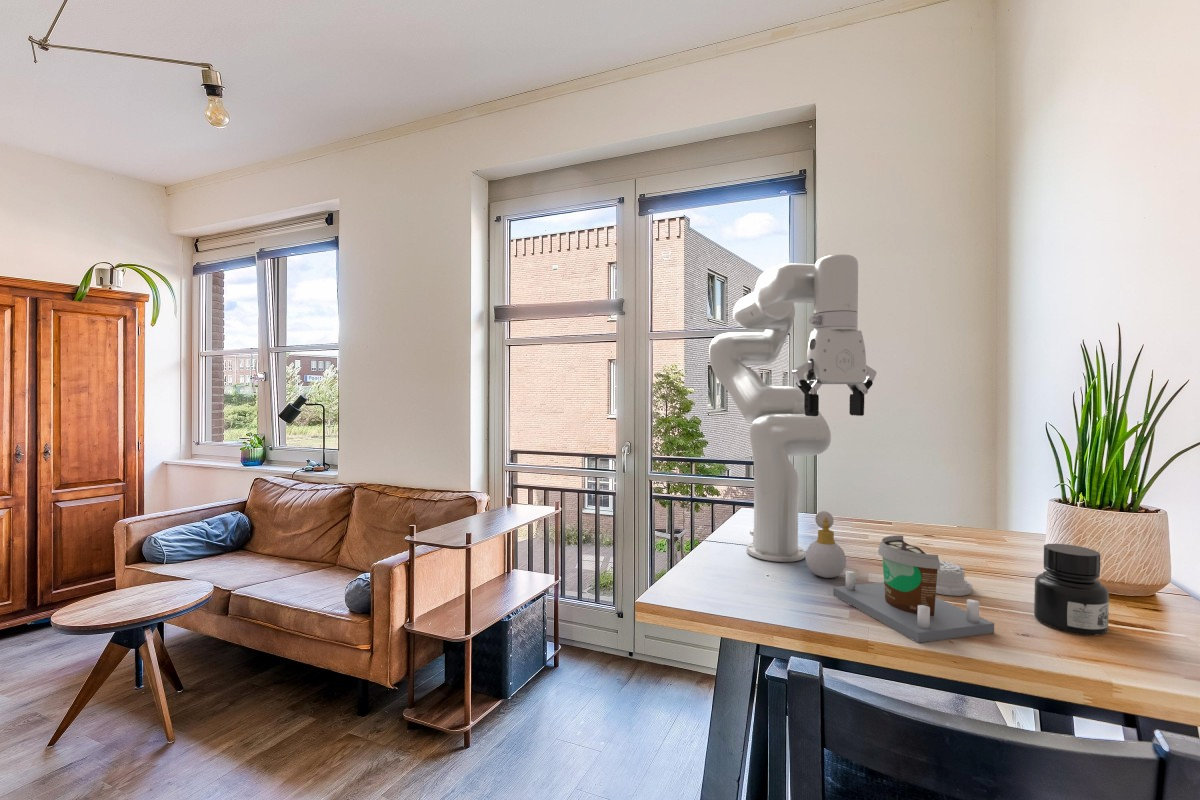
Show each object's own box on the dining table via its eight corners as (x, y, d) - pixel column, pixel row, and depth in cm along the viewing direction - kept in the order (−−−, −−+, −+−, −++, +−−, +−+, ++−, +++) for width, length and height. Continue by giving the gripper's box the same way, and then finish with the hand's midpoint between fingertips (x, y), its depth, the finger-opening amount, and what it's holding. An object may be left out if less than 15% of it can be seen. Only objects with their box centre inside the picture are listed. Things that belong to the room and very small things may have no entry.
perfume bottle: (816, 583, 105) (816, 520, 105) (794, 566, 115) (794, 509, 114) (853, 582, 106) (854, 520, 105) (828, 565, 115) (829, 509, 115)
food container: (865, 589, 97) (865, 533, 97) (900, 590, 97) (901, 534, 97) (898, 618, 85) (899, 555, 85) (939, 620, 85) (940, 555, 84)
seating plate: (833, 595, 99) (833, 570, 98) (898, 588, 102) (898, 564, 102) (918, 643, 80) (918, 612, 80) (994, 632, 83) (994, 603, 83)
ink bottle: (1086, 642, 80) (1088, 561, 80) (1020, 619, 89) (1021, 545, 88) (1121, 630, 84) (1123, 553, 84) (1055, 609, 92) (1056, 539, 92)
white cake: (921, 595, 99) (982, 599, 98) (922, 571, 99) (983, 574, 97) (901, 576, 109) (956, 580, 107) (902, 554, 109) (957, 557, 107)
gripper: (806, 319, 96) (805, 417, 96) (889, 322, 100) (888, 416, 100) (782, 324, 103) (781, 415, 103) (860, 327, 107) (859, 414, 108)
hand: (834, 415), depth 102 cm, fingers open, 9 cm apart
